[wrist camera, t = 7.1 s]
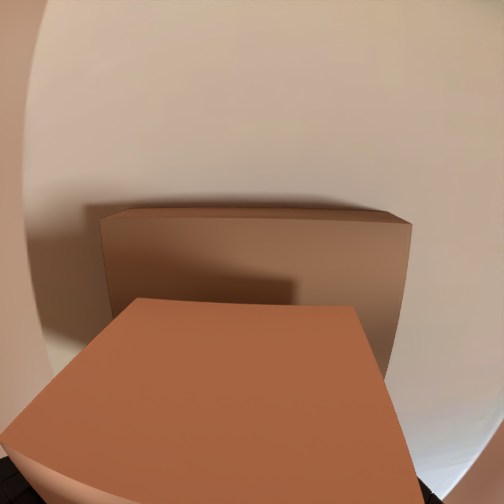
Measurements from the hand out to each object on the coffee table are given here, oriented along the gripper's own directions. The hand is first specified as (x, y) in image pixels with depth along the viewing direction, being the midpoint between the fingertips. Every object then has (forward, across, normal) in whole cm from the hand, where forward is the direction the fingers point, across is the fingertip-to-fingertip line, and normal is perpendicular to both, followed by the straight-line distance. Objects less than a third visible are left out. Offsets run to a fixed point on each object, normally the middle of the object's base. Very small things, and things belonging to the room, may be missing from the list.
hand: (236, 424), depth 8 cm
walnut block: (+6, 0, 0) cm, 6 cm away
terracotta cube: (+2, 0, 0) cm, 2 cm away
